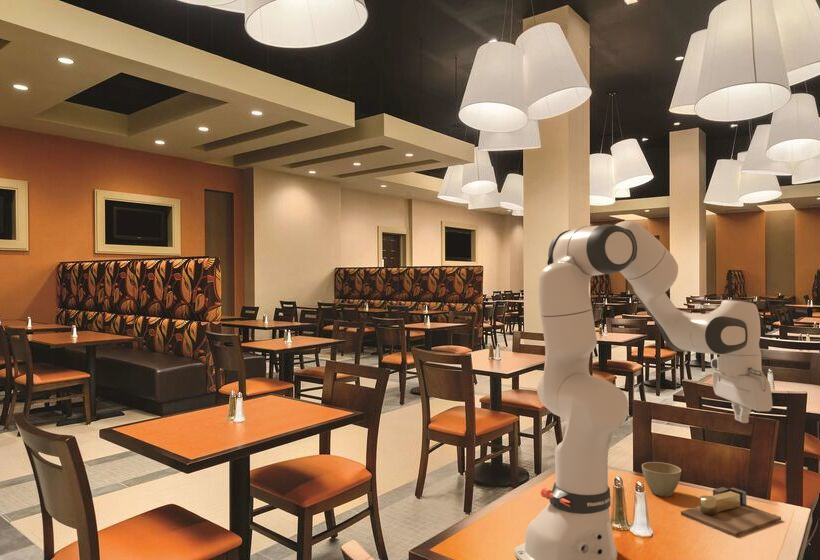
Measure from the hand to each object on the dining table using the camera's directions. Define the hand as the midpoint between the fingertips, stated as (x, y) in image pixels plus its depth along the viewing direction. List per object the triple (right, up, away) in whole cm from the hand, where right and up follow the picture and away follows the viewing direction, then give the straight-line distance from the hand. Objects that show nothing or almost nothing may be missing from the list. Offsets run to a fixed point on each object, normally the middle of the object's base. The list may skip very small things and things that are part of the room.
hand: (741, 421), depth 135 cm
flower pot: (-12, -25, +18) cm, 33 cm away
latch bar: (-3, -23, +4) cm, 24 cm away
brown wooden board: (-2, -24, +1) cm, 24 cm away
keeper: (+2, -23, +8) cm, 25 cm away
